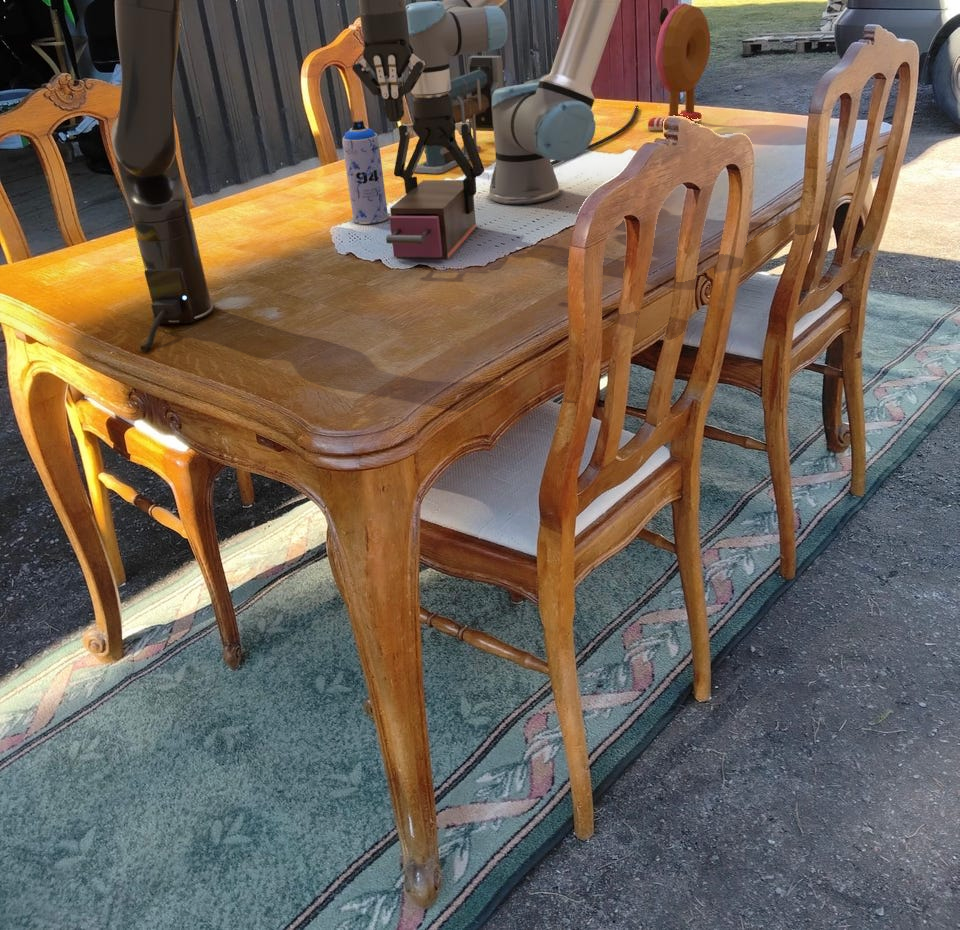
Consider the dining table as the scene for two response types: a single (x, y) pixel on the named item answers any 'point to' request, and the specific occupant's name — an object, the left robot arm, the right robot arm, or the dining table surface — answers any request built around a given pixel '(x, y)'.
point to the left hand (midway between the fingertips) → (395, 120)
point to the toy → (681, 57)
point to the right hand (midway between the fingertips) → (442, 211)
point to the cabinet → (440, 211)
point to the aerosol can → (364, 175)
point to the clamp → (468, 108)
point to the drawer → (415, 235)
